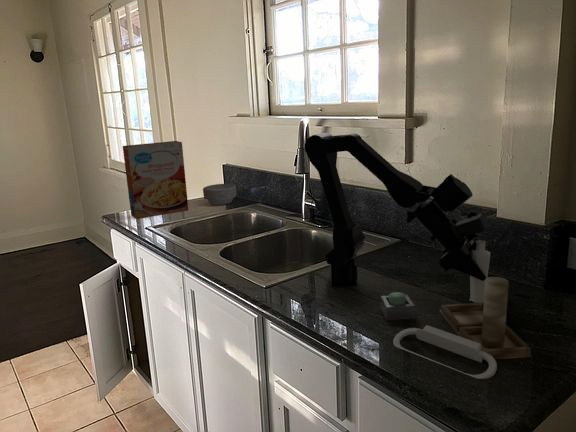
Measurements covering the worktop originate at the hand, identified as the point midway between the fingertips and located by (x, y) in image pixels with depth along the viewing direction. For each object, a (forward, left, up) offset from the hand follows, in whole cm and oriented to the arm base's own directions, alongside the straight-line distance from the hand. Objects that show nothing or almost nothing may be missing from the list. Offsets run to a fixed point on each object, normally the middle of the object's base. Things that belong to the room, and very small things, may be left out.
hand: (486, 275), depth 112 cm
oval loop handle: (-17, -22, -7) cm, 28 cm away
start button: (-21, -4, -6) cm, 22 cm away
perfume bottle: (-1, +1, -7) cm, 7 cm away
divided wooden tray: (-7, -14, -7) cm, 17 cm away
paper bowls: (-72, +122, -7) cm, 142 cm away
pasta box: (-97, +109, -7) cm, 146 cm away
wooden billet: (-7, -19, -6) cm, 21 cm away
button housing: (-21, -4, -7) cm, 23 cm away
